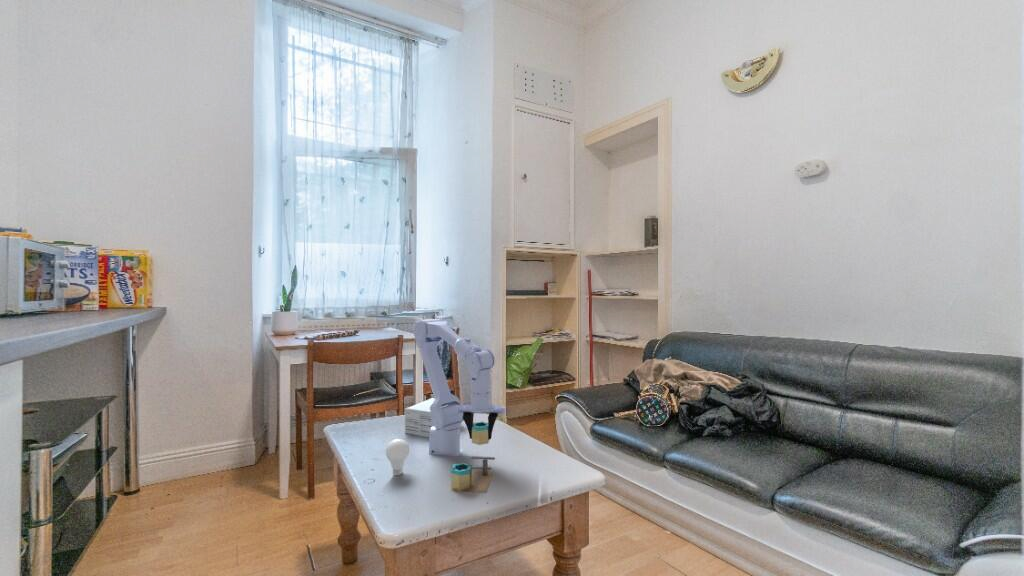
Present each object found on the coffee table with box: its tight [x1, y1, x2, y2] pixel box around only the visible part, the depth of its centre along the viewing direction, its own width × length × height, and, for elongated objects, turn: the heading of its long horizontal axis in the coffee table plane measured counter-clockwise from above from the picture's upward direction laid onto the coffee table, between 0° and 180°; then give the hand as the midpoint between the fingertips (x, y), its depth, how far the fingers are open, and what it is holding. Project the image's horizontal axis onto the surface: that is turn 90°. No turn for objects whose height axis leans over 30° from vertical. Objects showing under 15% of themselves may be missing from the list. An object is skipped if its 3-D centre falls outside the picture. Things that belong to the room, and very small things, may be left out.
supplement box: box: [404, 397, 448, 438], centre depth 164 cm, size 17×13×9 cm
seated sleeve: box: [450, 462, 473, 492], centre depth 114 cm, size 5×6×5 cm
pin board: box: [451, 459, 494, 494], centre depth 117 cm, size 9×13×6 cm
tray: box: [470, 455, 495, 470], centre depth 129 cm, size 7×8×2 cm
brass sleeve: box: [471, 421, 491, 446], centre depth 129 cm, size 5×6×5 cm
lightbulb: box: [385, 438, 410, 477], centre depth 122 cm, size 6×6×11 cm
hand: (480, 437), depth 129 cm, fingers closed on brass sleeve, 5 cm apart
